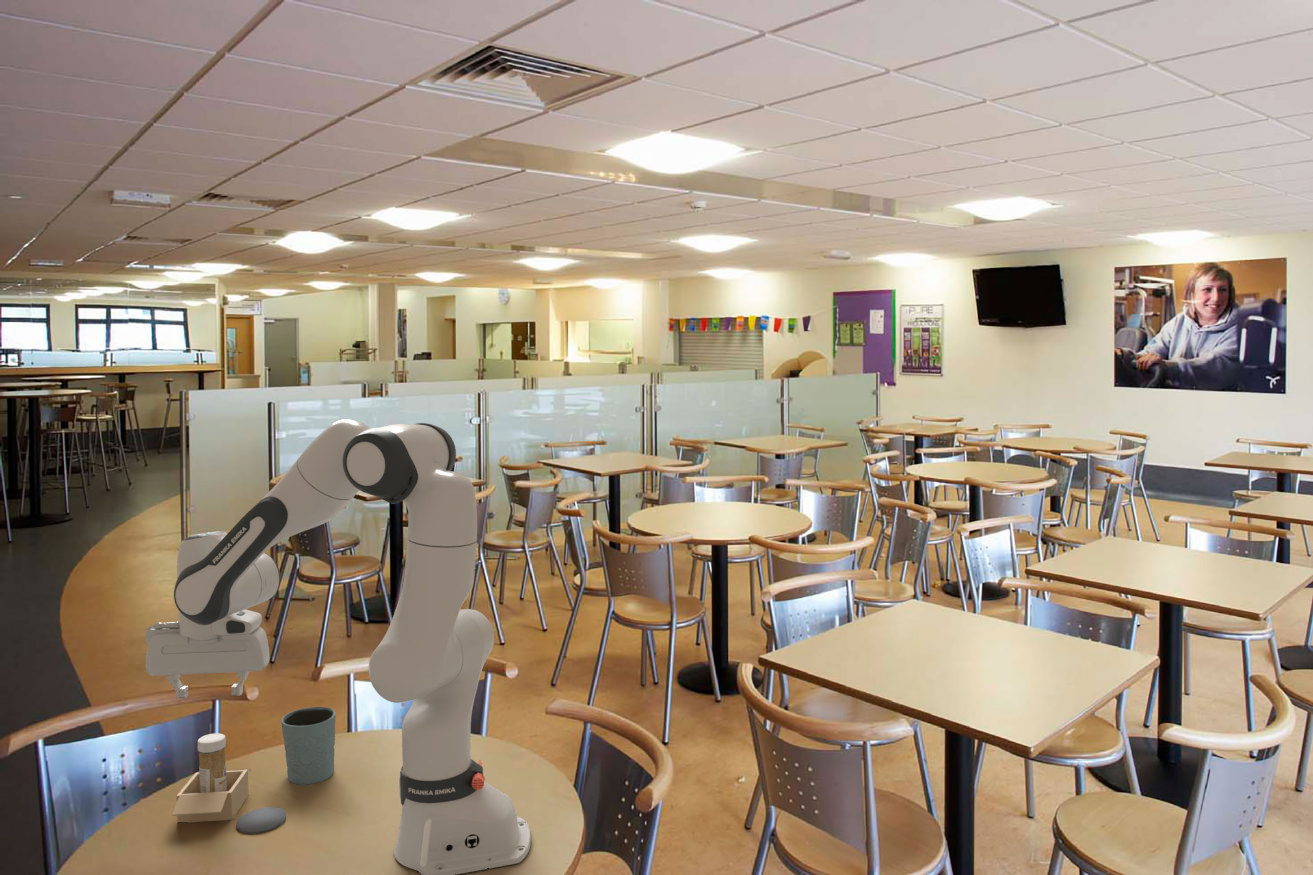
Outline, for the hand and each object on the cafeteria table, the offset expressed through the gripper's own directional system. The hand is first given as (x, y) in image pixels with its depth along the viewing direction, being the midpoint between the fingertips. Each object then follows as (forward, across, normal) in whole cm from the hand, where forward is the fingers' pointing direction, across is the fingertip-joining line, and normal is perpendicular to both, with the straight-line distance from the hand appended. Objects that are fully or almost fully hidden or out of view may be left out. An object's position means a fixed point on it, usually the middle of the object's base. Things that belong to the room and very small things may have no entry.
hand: (209, 695), depth 161 cm
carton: (+21, 0, 0) cm, 21 cm away
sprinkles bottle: (+21, 0, 0) cm, 21 cm away
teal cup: (+21, +14, +12) cm, 28 cm away
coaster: (+21, +10, -6) cm, 24 cm away
